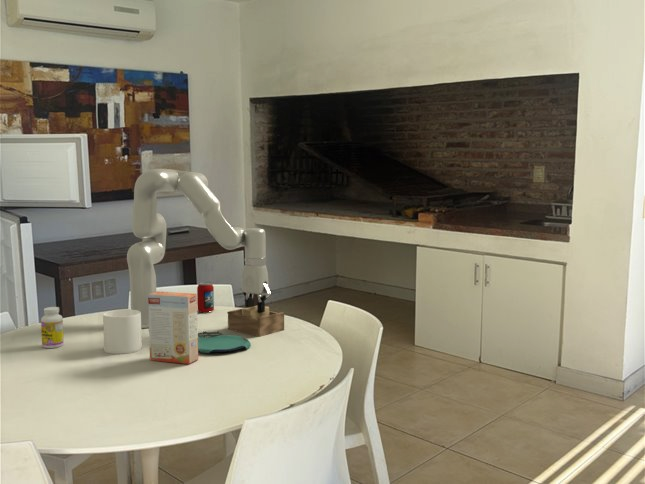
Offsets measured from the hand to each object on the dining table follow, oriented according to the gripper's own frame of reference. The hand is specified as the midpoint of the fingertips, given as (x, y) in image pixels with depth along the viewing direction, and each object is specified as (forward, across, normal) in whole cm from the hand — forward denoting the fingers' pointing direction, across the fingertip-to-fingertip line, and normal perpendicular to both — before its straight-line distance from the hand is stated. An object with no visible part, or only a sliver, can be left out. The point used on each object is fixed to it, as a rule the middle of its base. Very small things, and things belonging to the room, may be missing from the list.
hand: (255, 310), depth 229 cm
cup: (+7, -15, -46) cm, 49 cm away
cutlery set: (+8, +3, -22) cm, 24 cm away
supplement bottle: (+7, -36, -59) cm, 69 cm away
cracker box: (+7, +8, -43) cm, 44 cm away
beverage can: (+7, -38, +8) cm, 39 cm away
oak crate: (+5, 0, 0) cm, 5 cm away
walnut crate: (+7, 0, 0) cm, 7 cm away
